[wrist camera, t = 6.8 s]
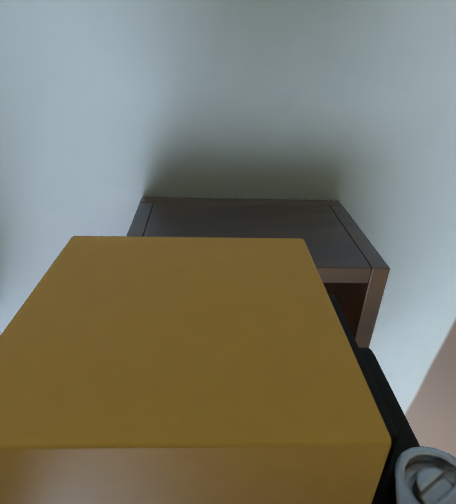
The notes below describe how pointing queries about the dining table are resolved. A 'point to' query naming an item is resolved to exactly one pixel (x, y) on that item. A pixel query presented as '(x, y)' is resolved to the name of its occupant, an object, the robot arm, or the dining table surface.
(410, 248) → the dining table surface
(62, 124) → the dining table surface
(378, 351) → the dining table surface
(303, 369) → the block
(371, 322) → the chest
